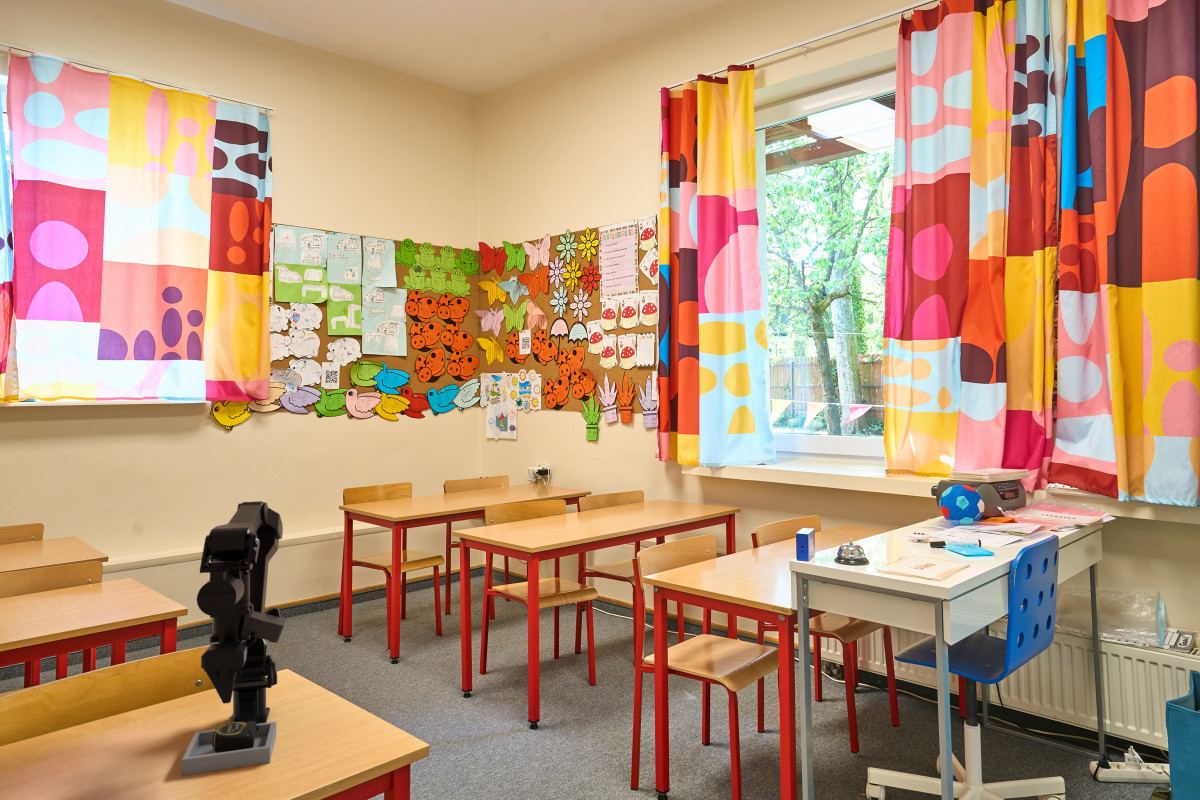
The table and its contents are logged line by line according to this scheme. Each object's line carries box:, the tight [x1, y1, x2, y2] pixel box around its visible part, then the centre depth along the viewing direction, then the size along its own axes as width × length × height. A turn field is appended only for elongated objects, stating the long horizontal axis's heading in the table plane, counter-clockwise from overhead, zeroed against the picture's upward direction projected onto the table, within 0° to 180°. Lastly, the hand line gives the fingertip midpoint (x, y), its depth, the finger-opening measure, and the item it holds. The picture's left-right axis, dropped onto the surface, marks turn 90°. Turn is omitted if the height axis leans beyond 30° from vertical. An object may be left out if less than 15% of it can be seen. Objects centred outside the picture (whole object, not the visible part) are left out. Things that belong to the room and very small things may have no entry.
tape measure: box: [212, 721, 259, 753], centre depth 127 cm, size 7×7×4 cm
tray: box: [181, 721, 277, 776], centre depth 127 cm, size 11×13×2 cm
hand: (231, 693), depth 127 cm, fingers open, 9 cm apart
